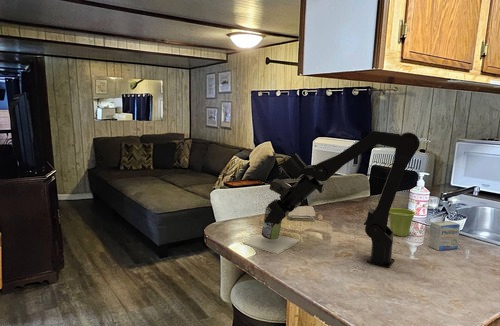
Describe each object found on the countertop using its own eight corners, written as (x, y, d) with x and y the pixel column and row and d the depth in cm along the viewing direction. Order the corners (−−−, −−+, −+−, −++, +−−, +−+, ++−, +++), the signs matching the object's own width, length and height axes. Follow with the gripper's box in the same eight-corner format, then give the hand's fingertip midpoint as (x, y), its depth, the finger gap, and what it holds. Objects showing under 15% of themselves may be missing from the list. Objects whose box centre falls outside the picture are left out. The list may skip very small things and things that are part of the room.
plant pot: (391, 238, 123) (393, 214, 122) (382, 229, 133) (383, 207, 132) (417, 238, 123) (419, 215, 122) (406, 230, 132) (408, 208, 131)
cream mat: (277, 254, 107) (277, 252, 107) (242, 243, 115) (242, 242, 115) (299, 241, 118) (299, 240, 118) (266, 232, 127) (266, 231, 127)
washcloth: (287, 221, 142) (287, 214, 141) (286, 210, 159) (286, 203, 159) (316, 223, 141) (317, 215, 140) (312, 211, 158) (312, 204, 158)
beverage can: (263, 234, 120) (263, 201, 119) (283, 236, 119) (284, 202, 117) (259, 241, 114) (260, 206, 113) (281, 243, 113) (282, 207, 111)
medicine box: (438, 251, 112) (440, 225, 111) (428, 246, 116) (430, 221, 115) (457, 249, 114) (460, 224, 113) (446, 244, 118) (449, 220, 117)
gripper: (293, 167, 120) (263, 195, 126) (275, 176, 103) (241, 207, 109) (314, 192, 118) (283, 219, 124) (299, 204, 101) (264, 235, 107)
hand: (268, 219), depth 116 cm, fingers closed on beverage can, 6 cm apart
